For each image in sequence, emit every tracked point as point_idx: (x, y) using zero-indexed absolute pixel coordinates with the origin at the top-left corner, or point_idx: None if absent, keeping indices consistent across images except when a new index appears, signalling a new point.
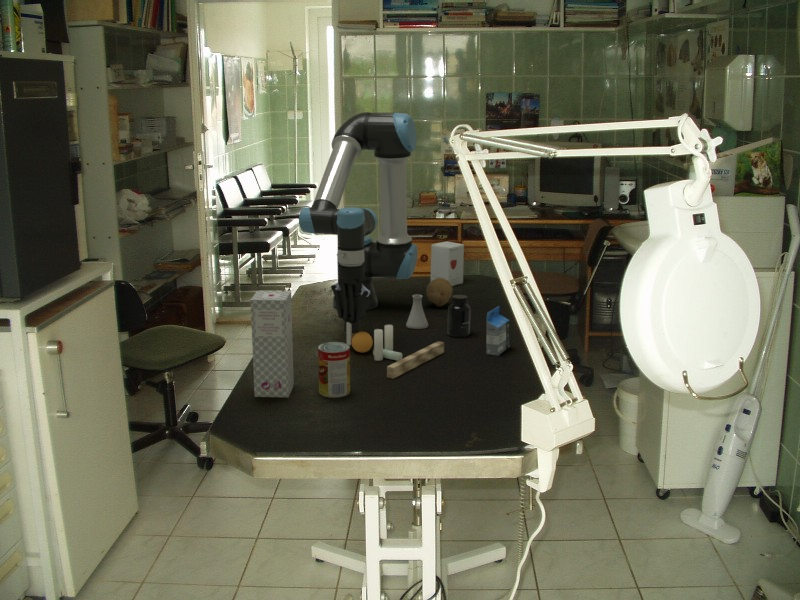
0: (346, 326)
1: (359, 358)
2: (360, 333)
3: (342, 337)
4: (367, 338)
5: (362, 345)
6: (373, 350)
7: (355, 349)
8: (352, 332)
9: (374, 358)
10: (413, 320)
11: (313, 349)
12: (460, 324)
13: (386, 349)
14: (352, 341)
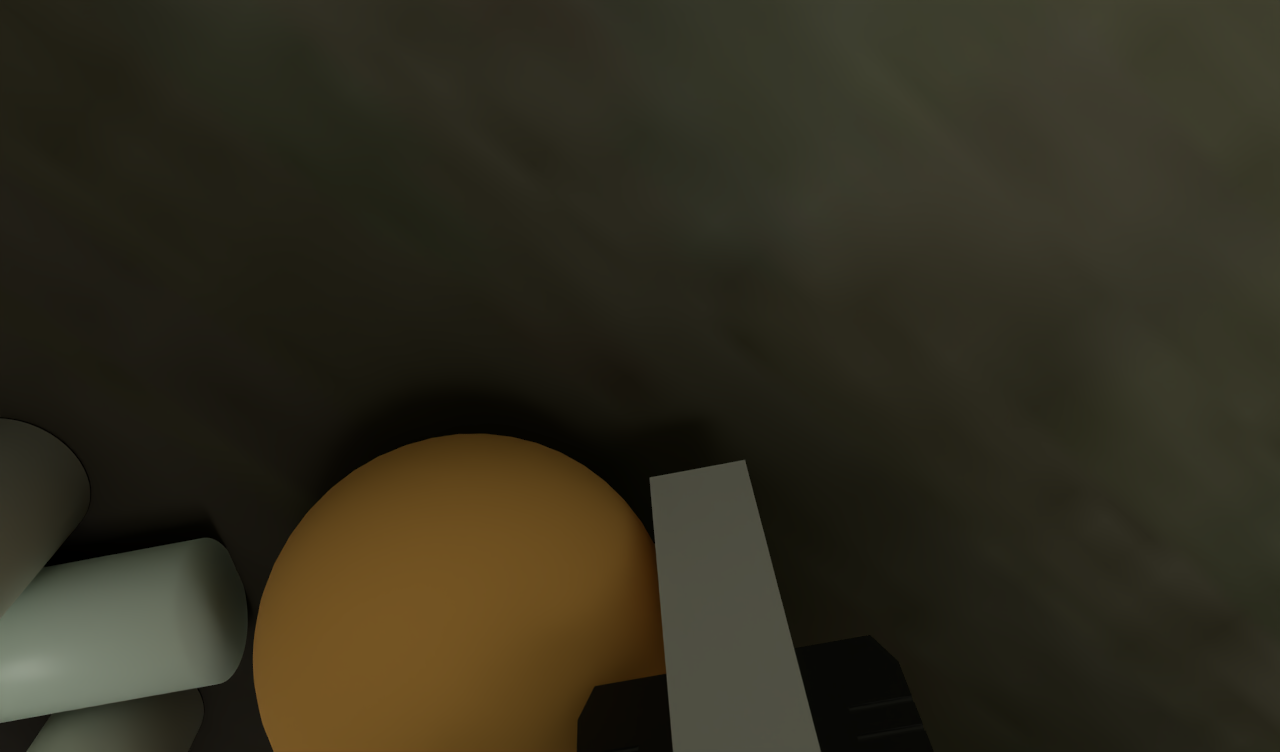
0: (815, 732)
1: (249, 295)
2: (412, 741)
3: (1213, 716)
4: (262, 717)
5: (295, 528)
6: (171, 583)
7: (479, 434)
8: (657, 688)
9: (18, 435)
10: None
11: (1275, 8)
12: None
13: (58, 732)
14: (535, 498)
